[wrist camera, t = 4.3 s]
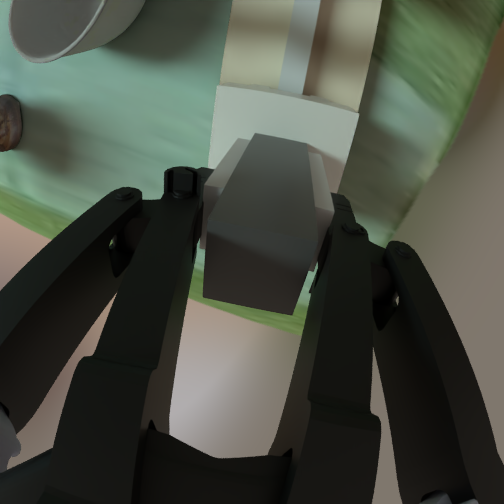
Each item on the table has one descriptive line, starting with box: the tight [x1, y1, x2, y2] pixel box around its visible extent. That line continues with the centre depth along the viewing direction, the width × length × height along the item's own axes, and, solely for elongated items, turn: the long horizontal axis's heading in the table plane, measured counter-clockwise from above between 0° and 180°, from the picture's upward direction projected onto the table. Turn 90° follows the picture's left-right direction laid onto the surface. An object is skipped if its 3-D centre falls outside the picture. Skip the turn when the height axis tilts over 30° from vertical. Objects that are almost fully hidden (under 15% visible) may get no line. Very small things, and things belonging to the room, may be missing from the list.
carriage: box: [203, 82, 359, 315], centre depth 14 cm, size 8×8×14 cm
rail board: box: [219, 0, 382, 112], centre depth 19 cm, size 24×10×4 cm, turn 171°
